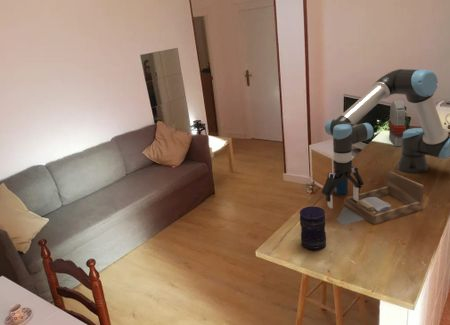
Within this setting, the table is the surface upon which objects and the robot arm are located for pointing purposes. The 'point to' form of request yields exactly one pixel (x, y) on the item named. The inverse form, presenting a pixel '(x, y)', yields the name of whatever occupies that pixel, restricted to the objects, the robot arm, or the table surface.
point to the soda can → (341, 187)
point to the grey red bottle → (397, 122)
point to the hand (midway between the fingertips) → (343, 203)
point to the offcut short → (365, 205)
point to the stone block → (378, 204)
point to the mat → (348, 217)
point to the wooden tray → (397, 188)
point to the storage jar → (313, 228)
